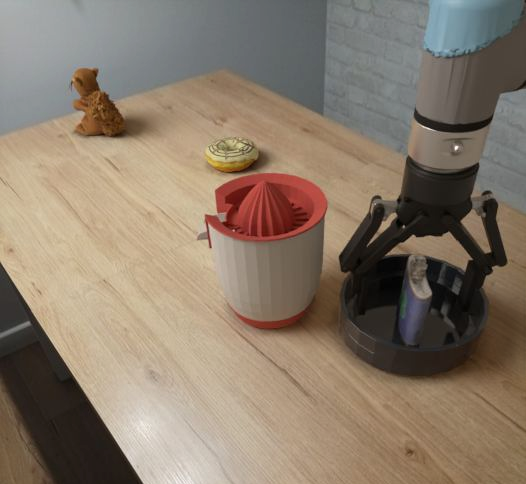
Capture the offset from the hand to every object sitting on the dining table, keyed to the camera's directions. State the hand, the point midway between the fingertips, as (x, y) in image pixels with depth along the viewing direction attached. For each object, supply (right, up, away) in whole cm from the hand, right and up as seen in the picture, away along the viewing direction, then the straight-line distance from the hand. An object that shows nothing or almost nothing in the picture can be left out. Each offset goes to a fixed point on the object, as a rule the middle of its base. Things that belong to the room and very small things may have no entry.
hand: (411, 306), depth 70 cm
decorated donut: (-26, +33, +38) cm, 57 cm away
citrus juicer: (-20, +1, +8) cm, 21 cm away
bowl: (0, -3, +3) cm, 4 cm away
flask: (0, -2, +2) cm, 3 cm away
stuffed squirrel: (-57, +46, +52) cm, 90 cm away
